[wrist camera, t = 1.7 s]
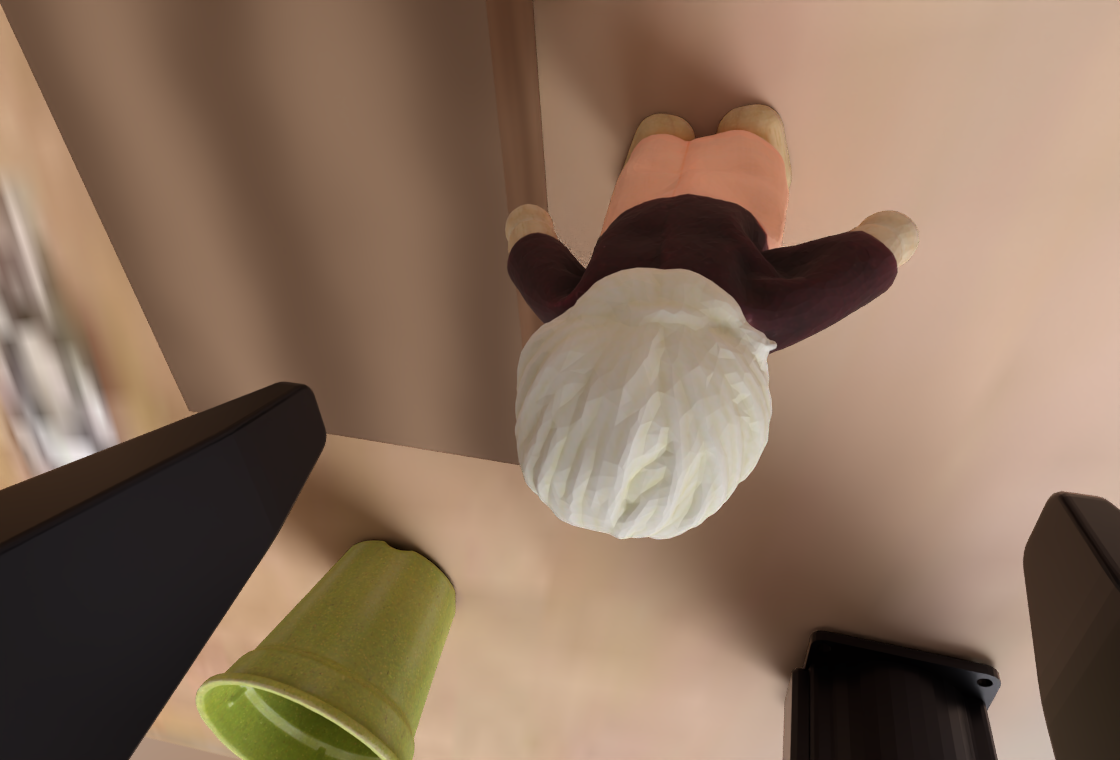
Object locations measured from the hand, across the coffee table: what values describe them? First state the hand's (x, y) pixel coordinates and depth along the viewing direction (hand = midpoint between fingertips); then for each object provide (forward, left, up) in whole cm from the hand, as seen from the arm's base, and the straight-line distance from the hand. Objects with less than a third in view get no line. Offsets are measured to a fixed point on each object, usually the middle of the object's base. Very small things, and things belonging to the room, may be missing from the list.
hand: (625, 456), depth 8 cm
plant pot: (+14, +21, -12) cm, 28 cm away
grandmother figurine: (0, 0, -12) cm, 12 cm away
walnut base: (+12, +2, -12) cm, 17 cm away
